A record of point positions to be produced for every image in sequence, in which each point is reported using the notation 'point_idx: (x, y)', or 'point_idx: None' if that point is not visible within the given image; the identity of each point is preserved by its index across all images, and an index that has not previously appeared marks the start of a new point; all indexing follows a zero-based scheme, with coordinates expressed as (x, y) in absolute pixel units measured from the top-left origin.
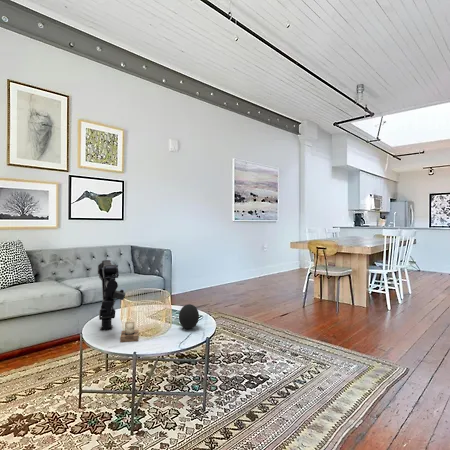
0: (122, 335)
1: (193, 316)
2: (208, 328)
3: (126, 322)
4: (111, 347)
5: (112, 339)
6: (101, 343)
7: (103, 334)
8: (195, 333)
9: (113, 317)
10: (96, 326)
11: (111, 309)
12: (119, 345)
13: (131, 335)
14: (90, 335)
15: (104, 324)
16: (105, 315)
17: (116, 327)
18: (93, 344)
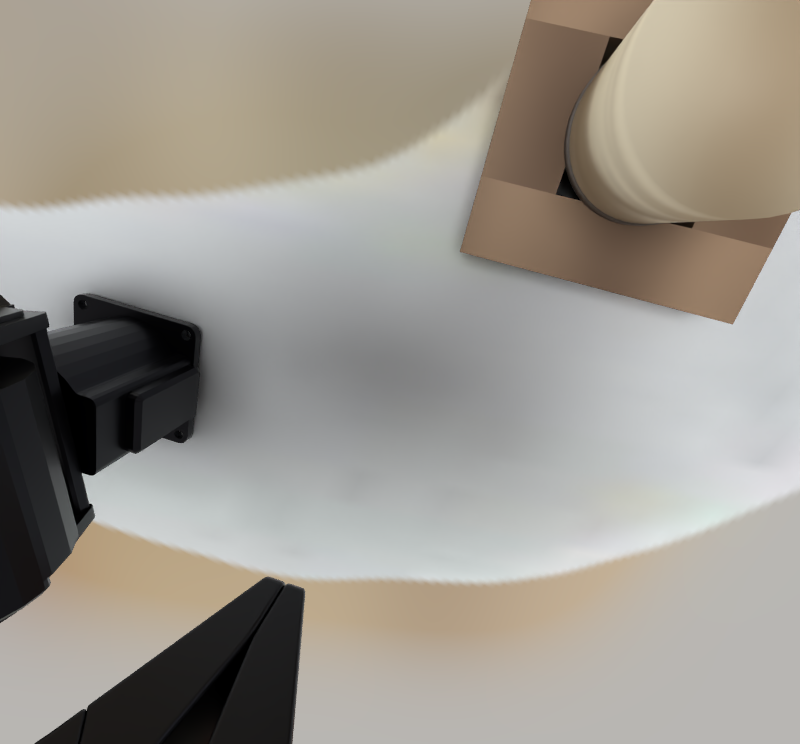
0: (687, 280)
1: None
2: None
3: (697, 173)
4: (792, 438)
5: (529, 376)
6: (589, 503)
7: (323, 432)
8: None
9: (39, 330)
10: None
11: (234, 719)
12: (795, 340)
13: None
14: (306, 542)
15: (157, 431)
16: (58, 504)
17: (136, 254)
18: (571, 569)
